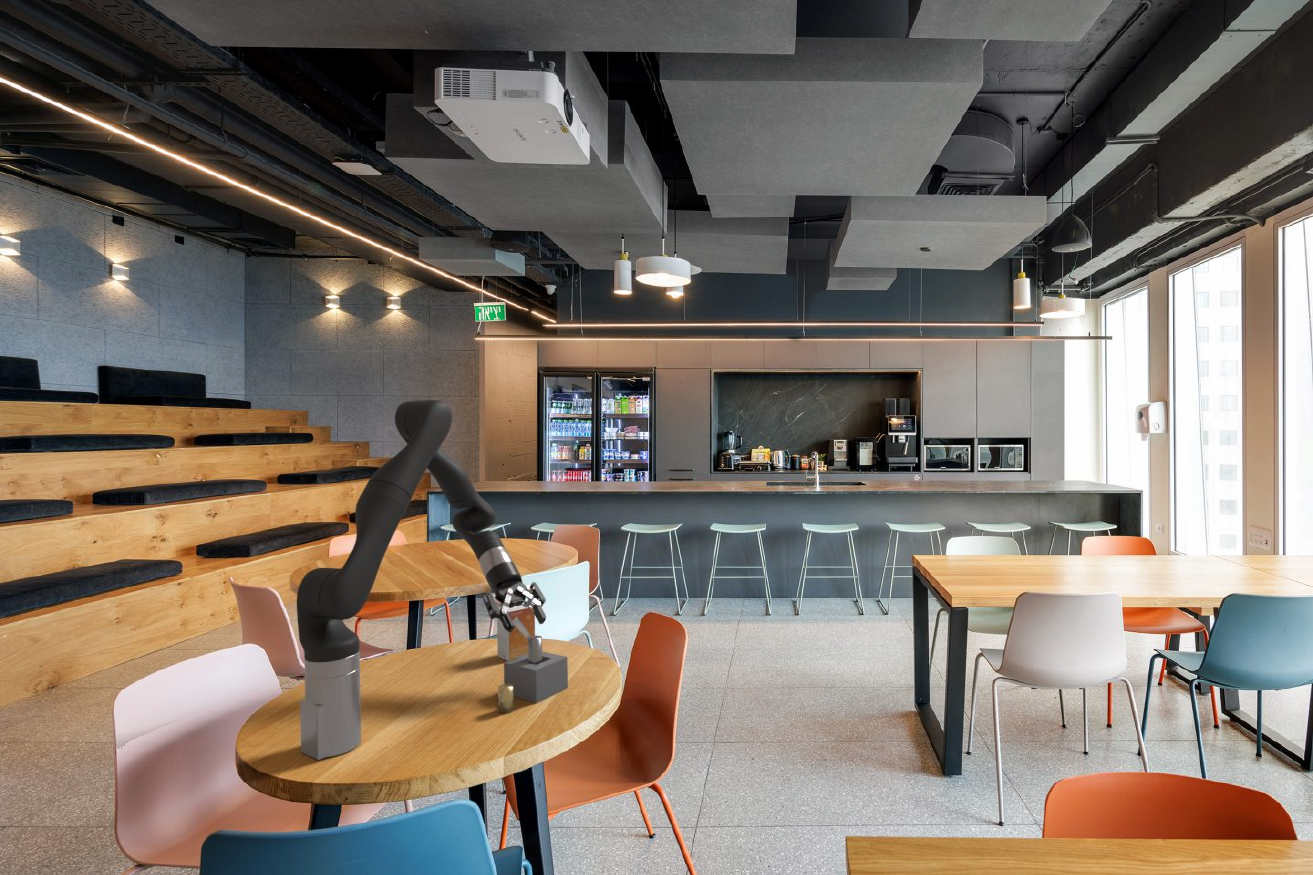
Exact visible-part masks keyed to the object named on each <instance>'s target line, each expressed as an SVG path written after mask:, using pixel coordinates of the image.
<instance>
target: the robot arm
mask: <svg viewBox="0 0 1313 875" xmlns="http://www.w3.org/2000/svg"><path fill="white" fill-rule="evenodd" d="M452 413H453V412H452V409H451V407H450V405H448V403H446V402H444V401H443V400H437V399H424V400H423V399H422V400H421V399H420V400H419V399H418V400H410V401H409V400H408V401H405V402H402V403H400V405H399V406H398V407H397V408H396V410H395V413H394V424H395V427H396V429H397V432H398V434H399V435H400V436H401V438H402V439H403V441H404V442H405V443H406V445H405V446H404V447H403V448H402V449H401V450H400V451H399V452H398V453H397V454H395V455H394V456H393V457H392V458H390V459H389V460H387V462H385V463H384V464H383V465H382V466H380V467H379V468H378V469H377V470H376V471H375V472H374V473H373V474H372V475H371V476H370V478H369V479H368V482H367V483H366V485H365V487H364V489H363V490H362V491H361V494H360V496H359V498H358V500H357V502H356V505H355V506H356V507H355V516H354V517H355V529H356V532H355V533H356V537H355V538H356V539H355V541H354V544H353V547H352V550H351V551H350V554H349V555H348V557H347V559H346V560H345V563H343V566H342V567H340V568H339V567H338V568H337V567H334V568H333V567H317V568H314V569H311V570H310V571H309V572H307V573H306V574H305V575H304V576H303V578H302V579H301V581H300V582H299V585H298V588H297V593H296V615H297V616H296V618H297V628H298V640H299V643H300V645H301V647H302V650H303V654H304V657H303V658H304V698H303V699H301V700H300V703H299V704H300V705H299V707H300V708H299V709H300V711H299V712H300V753H303V754H304V755H306V756H309V757H310V758H313V759H316V760H318V761H320V760H322V759H325V758H330V757H335V756H340V755H342V754H346V753H348V752H350V751H352V750H354V749H355V748H357V747H358V746H359V745H360V744H361V742H362V715H361V714H362V708H361V707H362V706H361V702H362V701H361V654H360V653H361V652H360V651H361V650H360V649H361V648H360V637H359V635H358V634H357V633H356V632H355V631H353V630H351V629H350V628H349V627H348V626H347V625H346V624H345V622H344V620H349V619H352V618H353V617H355V616H357V614H359V613H360V611H361V610H362V609H363V607H364V605H365V604H366V602H367V600H368V598H369V596H370V593H371V591H372V588H373V585H374V583H375V580H376V578H377V575H378V573H379V569H380V567H381V564H382V563H383V562H382V561H383V560H384V556H385V554H386V552H387V549H388V547H389V545H390V543H391V541H392V538H393V536H394V534H395V532H396V531H397V528H398V526H399V524H400V522H401V520H402V518H403V517H404V516H405V513H406V512H407V509H408V507H409V505H410V503H411V500H412V499H413V496H414V494H415V492H416V489H417V487H418V486H419V483H420V482H421V480H422V479H423V478H422V477H423V476H424V474H425V473H426V470H427V471H428V472H430V474H431V475H432V477H433V478H434V480H435V481H436V483H437V484H438V486H439V488H440V489H441V492H442V493H443V495H444V497H445V498H446V502H448V504H449V506H450V507H452V508H453V509H456V510H459V511H458V512H455V514H454V515H453V517H452V521H451V522H452V527H453V530H455V532H456V533H457V535H459V536H460V537H461V538H462V539H463V540H464V541H465V542H466V544H468V545H469V546H470V548H471V550H472V551H473V553H474V555H475V557H476V560H477V561H478V564H479V567H480V569H481V572H482V574H483V576H484V578H485V581H486V583H487V584H488V586H489V588H490V590H491V591H490V590H488V591H486V593H485V595H484V596H483V598H482V601H483V604H484V606H485V608H486V612H487V613H488V616H489V619H491V620H495V619H497V618H498V619H500V620H501V622H502V624H503V626H504V628H505V630H506V631H508V632H512V631H513V629H514V628H515V626H514V624H513V622H512V620H511V618H510V616H509V614H506V613H507V610H508V607H509V608H512V607H514V606H521V605H522V606H524V607H526V608H527V607H528V608H530V609H532V610H533V611H534V614H535V619H536V620H537V622H538V624H539V625H542V624H544V623H545V622H546V620H547V616H546V615H547V614H546V613H545V611H544V609H543V608H542V607H543V606H544V605H545V603H546V602H547V599H546V597H545V595H544V594H543V592H542V590H541V588H540V587H539V586H538V584H537V582H536V581H532V583H531V584H529V585H526V584H525V583H523V578H522V575H521V573H520V571H519V570H518V567H517V566H516V564H515V562H514V560H513V558H512V557H511V556H512V555H511V554H510V553H509V552H508V550H507V549H506V547H505V546H504V543H503V540H502V539H501V538H500V536H499V534H498V533H497V532H496V531H493V530H488V531H486V529H488V528H490V527H491V526H493V525H494V524H495V523H496V518H497V517H496V516H497V515H496V512H495V510H494V509H493V507H492V506H491V505H490V504H489V502H487V501H486V499H484V498H482V496H481V495H480V494H479V493H478V491H477V490H476V489H475V486H474V485H473V483H472V481H471V479H470V477H469V475H468V474H467V472H466V470H465V469H464V468H463V466H462V465H460V463H458V462H457V461H456V460H455V459H454V458H452V457H451V456H450V455H449V454H448V453H447V452H445V451H444V450H443V449H442V448H441V446H442V445H443V443H444V441H445V440H446V439H447V436H448V434H449V432H450V430H451V427H452V422H453V414H452ZM526 599H527V601H526ZM496 601H497V602H499V603H500V609H499V610H498V608H499V607H498V605H497V603H496Z"/></svg>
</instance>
